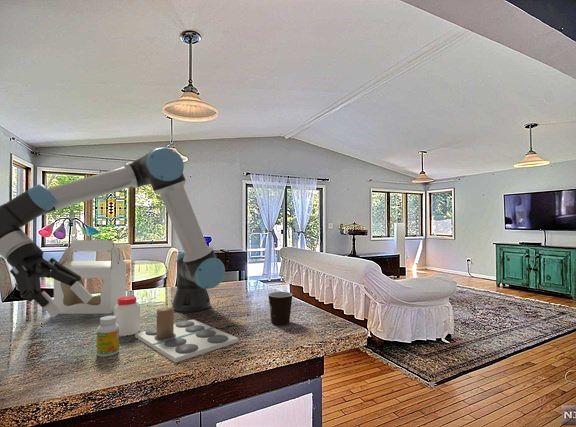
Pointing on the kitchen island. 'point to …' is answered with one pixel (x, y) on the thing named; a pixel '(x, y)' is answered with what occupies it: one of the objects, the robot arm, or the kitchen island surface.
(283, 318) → the coffee mug
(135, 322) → the pill bottle
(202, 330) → the board
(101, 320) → the supplement bottle
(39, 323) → the kitchen island surface
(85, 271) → the gable box
